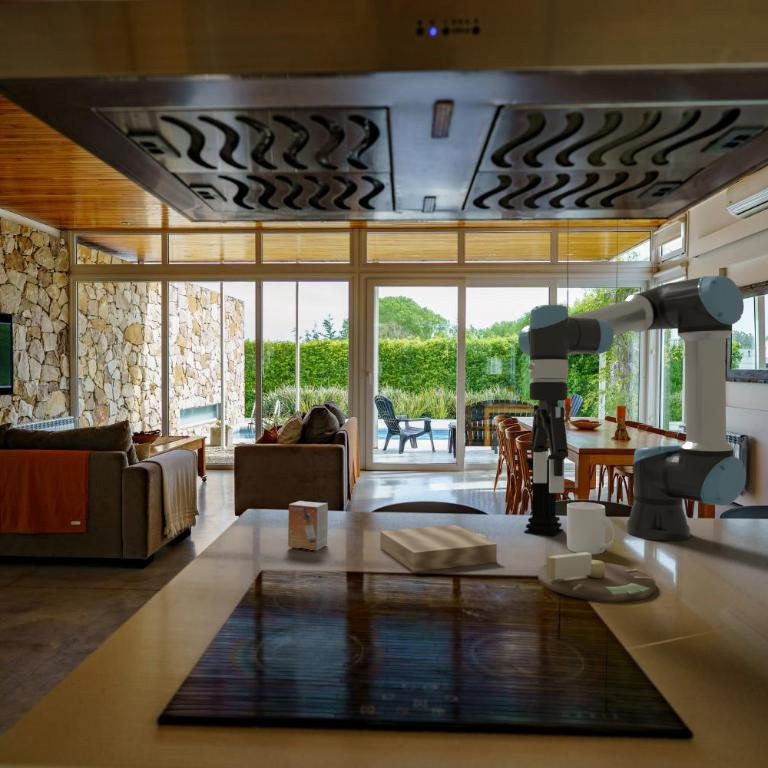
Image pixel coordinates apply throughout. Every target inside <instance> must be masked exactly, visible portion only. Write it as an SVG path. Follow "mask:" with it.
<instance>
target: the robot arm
mask: <svg viewBox="0 0 768 768" xmlns="http://www.w3.org/2000/svg"><path fill="white" fill-rule="evenodd" d="M744 304H745V303H744V297H743V295H742V291H741V290H740V287H738V285H736V283H735V281H734V280H733V279H731V278H729V277H727V276H725V275H711V276H702V277H697V278H692V279H685V280H681V281H675V282H669V283H664V284H661V285H658V286H655V287H653V288H650V289H648V290H647V289H646V290H645V291H642V292H639V293H636V294H633V295H632V294H631V295H629V296H627V298H625V299H624V301H622V302H617V303H614V304H613V303H612V304H610V305H606V306H602V307H599V308H595V309H591V310H590V309H589V310H587V311H583V312H580V313H577V314H576V313H575V314H572V315H569V313H568V312H569V311H568V307H567V306H566V305H564V304H563V305H562V304H542V305H541V304H540V305H536V306H534V307H532V308H531V310H530V314H529V324H528V325H526V326H525V327H523V328H522V329H521V330H520V332H519V335H518V345H519V348H520V351H522V353H523V355H524V354H525V356H527V357H529V364H528V365H526V367H527V370H529V379H530V380H532V382H530V383H529V400H531V401H538V404H534V405H533V417H532V418H533V420H532V429H531V437H530V439H531V440H530V449H532V451H533V456H532V458H533V482H534V483H547V460H548V459H549V492H550V493H556V494H563V493H565V459H566V458H569V448H568V440H567V430H566V421H565V420H566V419H565V411H566V410H565V407H564V406H559V401H566V400H567V399H568V383H567V382H565V381H566V380H567V379H568V378H569V376H568V375H569V370H568V367H569V364H568V363H569V362H568V361H569V358H568V357H569V356H568V355H583V354H584V355H585V354H586V355H601V354H605V353H606V352H608V351H609V350H610V348H611V347H612V345H613V343H614V339H615V338H614V337H615V336H618V335H621V334H624V333H628V332H635V333H641V332H642V333H643V332H646V331H652V330H676V329H677V336H678V337H679V338H681V340H683V341H684V373H685V374H684V376H685V377H684V379H685V381H684V383H685V384H684V385H685V389H684V391H685V433H686V434H685V441H683V442H682V443H681V444H677V445H660V446H658V445H657V446H656V445H655V446H640V447H637V448H636V449H635V451H634V452H633V453H634V454H633V455H634V456H633V463H632V467H633V468H632V469H633V470H632V471H633V504H632V507H631V510H630V514H629V519H628V520H627V521H626V532H627V534H629V535H631V536H634V537H637V538H641V539H647V540H653V541H664V542H675V541H676V542H677V541H678V542H681V541H685V540H688V539H689V540H690V538H691V528H690V526H689V525H688V521H687V518H686V513H685V511H684V507H683V505H684V504H683V500H687V501H692V502H699V503H703V504H706V505H709V506H711V505H715V506H728V505H730V504H732V503H733V502H735V501H736V500H737V499H738V498H739V496H740V495H741V493H742V491H743V489H744V488H745V486H746V485H745V484H746V480H747V471H746V466H745V465H744V463H743V461H742V460H741V459H739V458H738V457H736V456H735V448H734V446H732V444H731V443H729V442H728V440H727V411H726V410H727V405H726V403H727V399H726V398H727V397H726V395H727V393H726V390H727V388H726V385H727V384H726V340H727V338H728V337H729V336H731V334H732V333H733V325H734V324H736V323H739V321H740V320H741V318H742V315H743V314H744V309H745V308H744V307H745V306H744ZM547 444H548V447H549V448H548V447H547ZM548 452H549V453H550V454H548Z"/></svg>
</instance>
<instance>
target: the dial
mask: <svg viewBox="0 0 768 768" xmlns="http://www.w3.org/2000/svg"><path fill="white" fill-rule="evenodd" d="M604 563H605V576H604V577H602V578H594V577H589V576H587V575H583V576H576V577H568V578H561V579H549V578H547V564H545V565H542V566H540V568H539V569H538V571H537V580H538V581H539V583H540V585H542V586H543V587H544V588H547V589H548V590H550V591H553V592H555V593H558V594H561V595H564V596H567V597H572V598H574V599H575V598H576V599H579V600H580V599H581V600H586V601H593V602H594V601H595V602H602V603H604V602H605V603H625V602H626V603H627V602H628V603H629V602H637V601H641V600H645V599H648V598H650V597H652V596H653V595H655V593H656V581H655V579H654V578H652V577H651V576H650V575H649V574H647V573H645V572H642V571H641V570H638V569H637V568H633V567H632V568H631V567H628V566H624V565H620V564H616V563H609V562H604ZM654 592H655V593H654ZM651 595H652V596H651Z"/></svg>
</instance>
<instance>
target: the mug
mask: <svg viewBox="0 0 768 768" xmlns="http://www.w3.org/2000/svg"><path fill="white" fill-rule="evenodd" d="M566 512H567V513H566V546H567V550H569V552H572V553H582V552H588V553H590V554H592V555H599V554H600V553H601V554H603V553H604V552H605V550H607V549H610V548H611V547H612V546H613V544H614V541H615V528H614V525H613V522H612V521H611V520H610V519H609V518H608V517H607V515H606V506H605V505H603V504H600V503H595V502H585V501H580V502H578V501H577V502H575V501H574V502H569V503H566ZM606 525H607V526H608V527H609V528H610V530H611V534H612V538H611V540H610V541H609V542H606Z"/></svg>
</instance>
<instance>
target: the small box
mask: <svg viewBox="0 0 768 768" xmlns="http://www.w3.org/2000/svg"><path fill="white" fill-rule="evenodd" d="M328 510H329V504H328V502H316V501H315V502H313V501H304V500H298V501H296V502H292V503H289V504H288V529H287V530H288V531H287V533H288V534H287V536H288V537H287V547H288V546H289V547H288V548H290V547H294V548H293V549H299V548H305V549H312V550H318V551H320V550H322V549H323V548H322V547H324V546H326V545H327V546H328V526H329V524H328V522H329V521H328V518H329V517H328V516H329V515H328V514H329V511H328ZM327 546H326V547H327ZM321 548H322V549H321ZM324 548H325V547H324ZM305 549H304V550H305ZM319 549H320V550H319Z"/></svg>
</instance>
